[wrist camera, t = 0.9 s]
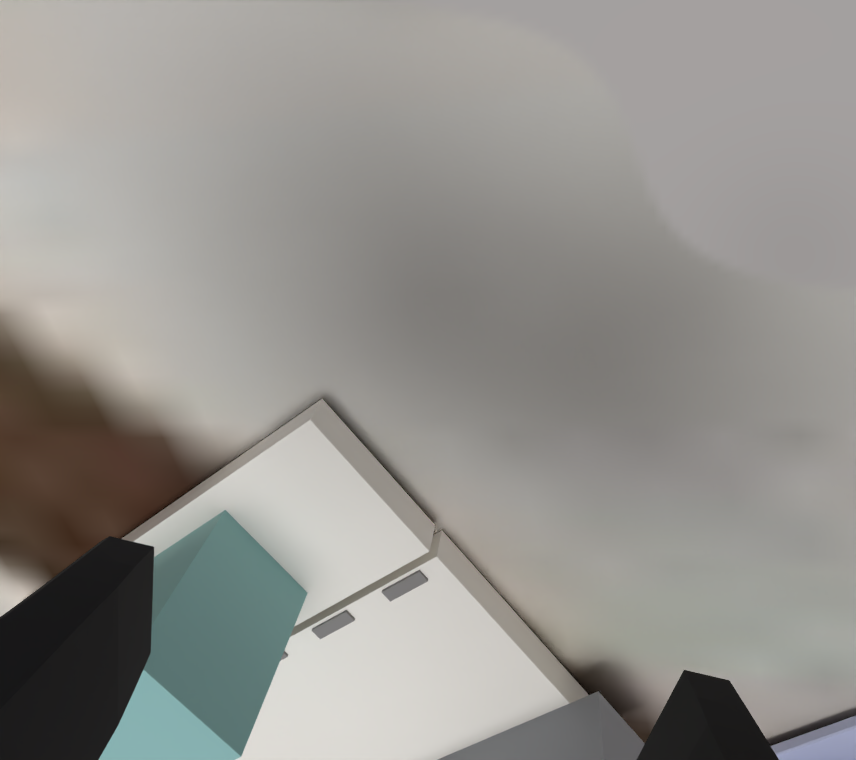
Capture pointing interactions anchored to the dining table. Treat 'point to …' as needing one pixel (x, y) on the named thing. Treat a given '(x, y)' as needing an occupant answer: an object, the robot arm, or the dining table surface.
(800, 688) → the dining table surface
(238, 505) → the stub
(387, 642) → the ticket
